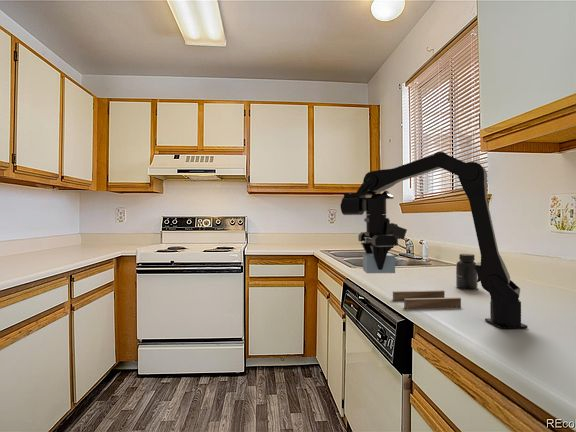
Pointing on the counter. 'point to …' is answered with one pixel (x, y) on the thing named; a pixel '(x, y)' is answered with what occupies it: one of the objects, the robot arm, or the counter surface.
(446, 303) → the trap channel
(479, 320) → the counter surface
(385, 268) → the slate block
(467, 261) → the supplement bottle
